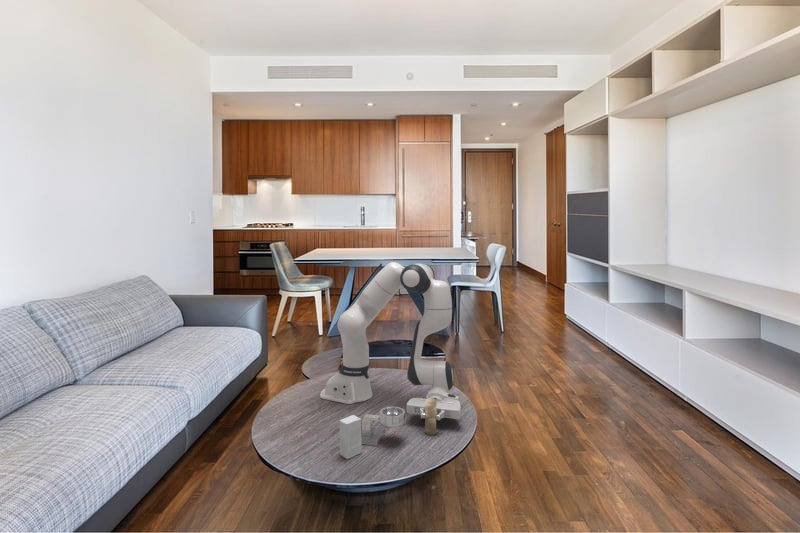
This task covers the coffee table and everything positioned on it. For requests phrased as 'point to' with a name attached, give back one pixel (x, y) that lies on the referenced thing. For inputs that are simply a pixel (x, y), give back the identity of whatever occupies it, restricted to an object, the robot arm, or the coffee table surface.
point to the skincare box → (350, 436)
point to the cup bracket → (387, 418)
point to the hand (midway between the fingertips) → (430, 417)
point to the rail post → (430, 416)
